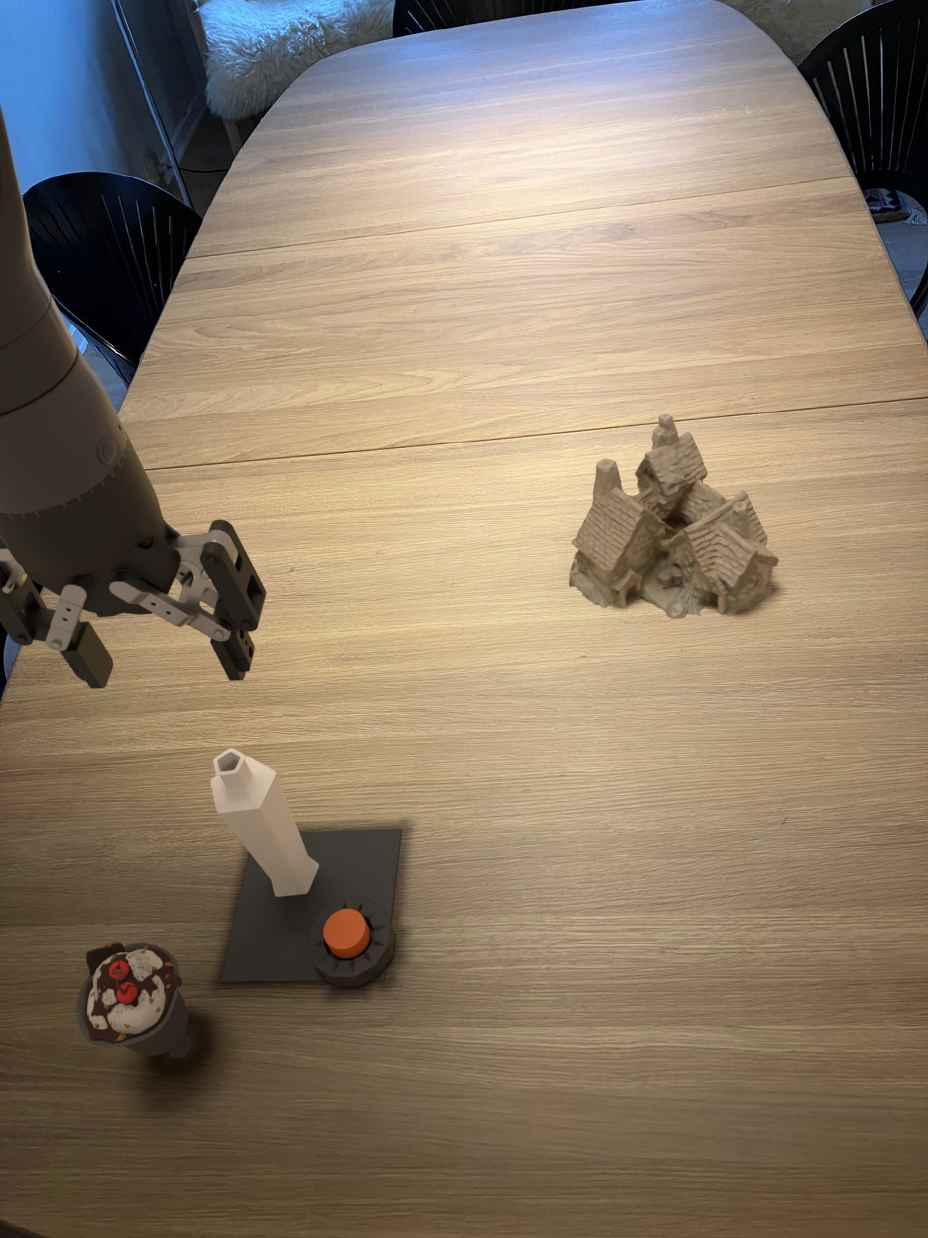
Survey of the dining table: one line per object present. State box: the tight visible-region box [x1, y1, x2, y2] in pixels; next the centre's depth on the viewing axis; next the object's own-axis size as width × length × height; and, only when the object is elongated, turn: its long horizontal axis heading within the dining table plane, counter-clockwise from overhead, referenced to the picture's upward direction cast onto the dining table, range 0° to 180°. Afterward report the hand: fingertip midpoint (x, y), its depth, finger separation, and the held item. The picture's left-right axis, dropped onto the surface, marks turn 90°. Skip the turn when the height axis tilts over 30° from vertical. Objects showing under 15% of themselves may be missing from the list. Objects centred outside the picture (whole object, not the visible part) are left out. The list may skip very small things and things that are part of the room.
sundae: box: [75, 940, 192, 1059], centre depth 66 cm, size 7×7×15 cm
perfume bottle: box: [210, 747, 319, 897], centre depth 73 cm, size 5×4×15 cm
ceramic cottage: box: [568, 413, 780, 620], centre depth 89 cm, size 16×16×15 cm
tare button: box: [323, 909, 370, 959], centre depth 72 cm, size 3×3×2 cm
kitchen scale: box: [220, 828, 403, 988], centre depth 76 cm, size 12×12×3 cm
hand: (171, 673), depth 60 cm, fingers open, 8 cm apart
